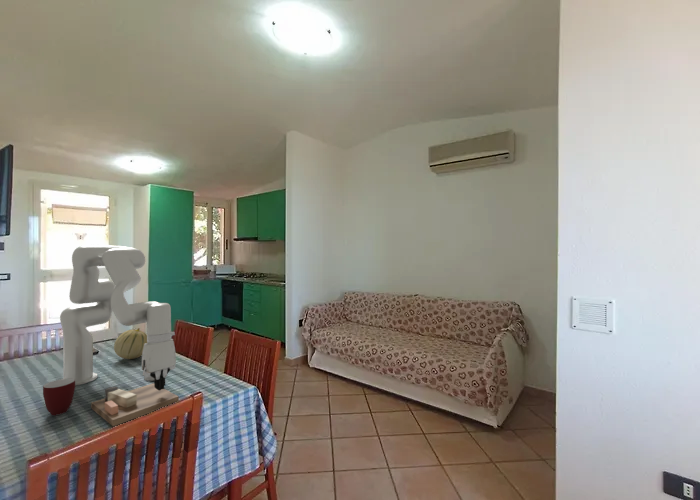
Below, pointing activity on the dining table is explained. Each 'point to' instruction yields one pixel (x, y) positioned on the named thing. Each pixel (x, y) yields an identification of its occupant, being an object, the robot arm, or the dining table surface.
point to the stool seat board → (146, 403)
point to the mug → (59, 395)
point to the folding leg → (120, 397)
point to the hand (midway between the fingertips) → (159, 388)
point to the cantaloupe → (130, 344)
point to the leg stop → (111, 407)
